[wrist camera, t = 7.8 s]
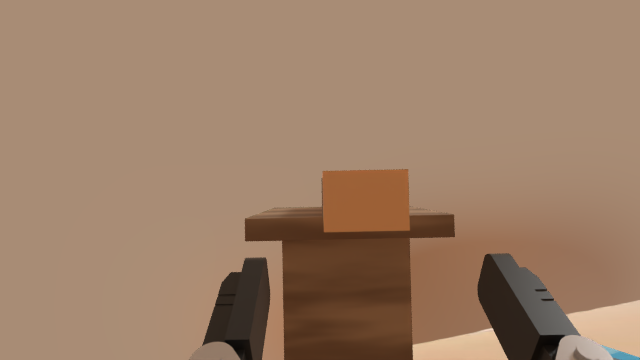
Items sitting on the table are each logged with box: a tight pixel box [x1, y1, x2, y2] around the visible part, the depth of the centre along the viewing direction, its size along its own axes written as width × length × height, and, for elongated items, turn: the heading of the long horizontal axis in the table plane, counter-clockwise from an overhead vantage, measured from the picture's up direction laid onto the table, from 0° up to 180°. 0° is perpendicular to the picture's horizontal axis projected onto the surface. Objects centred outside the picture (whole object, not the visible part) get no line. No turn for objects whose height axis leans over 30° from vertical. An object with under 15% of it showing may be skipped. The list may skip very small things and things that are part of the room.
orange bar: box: [322, 169, 410, 232], centre depth 28 cm, size 24×4×3 cm, turn 0°
